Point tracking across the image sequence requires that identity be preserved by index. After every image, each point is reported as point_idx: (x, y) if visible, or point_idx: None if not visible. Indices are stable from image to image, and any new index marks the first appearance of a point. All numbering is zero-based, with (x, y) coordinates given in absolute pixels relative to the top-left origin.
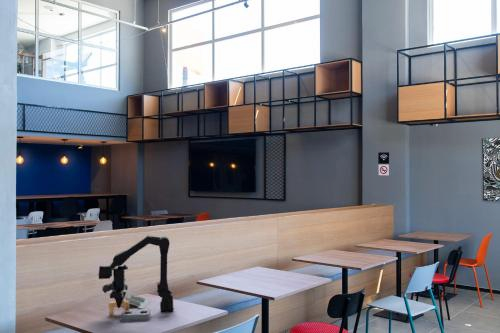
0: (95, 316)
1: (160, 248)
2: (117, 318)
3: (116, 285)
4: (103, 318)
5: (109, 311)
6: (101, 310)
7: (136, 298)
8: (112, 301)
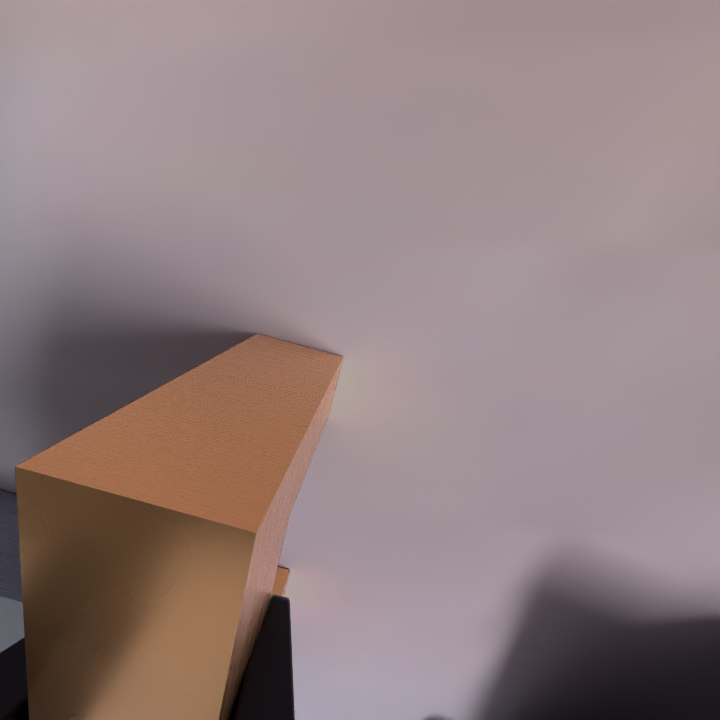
0: (249, 27)
1: None
2: (43, 438)
3: None
4: (72, 214)
5: (224, 353)
6: (707, 181)
7: None
8: (233, 615)
